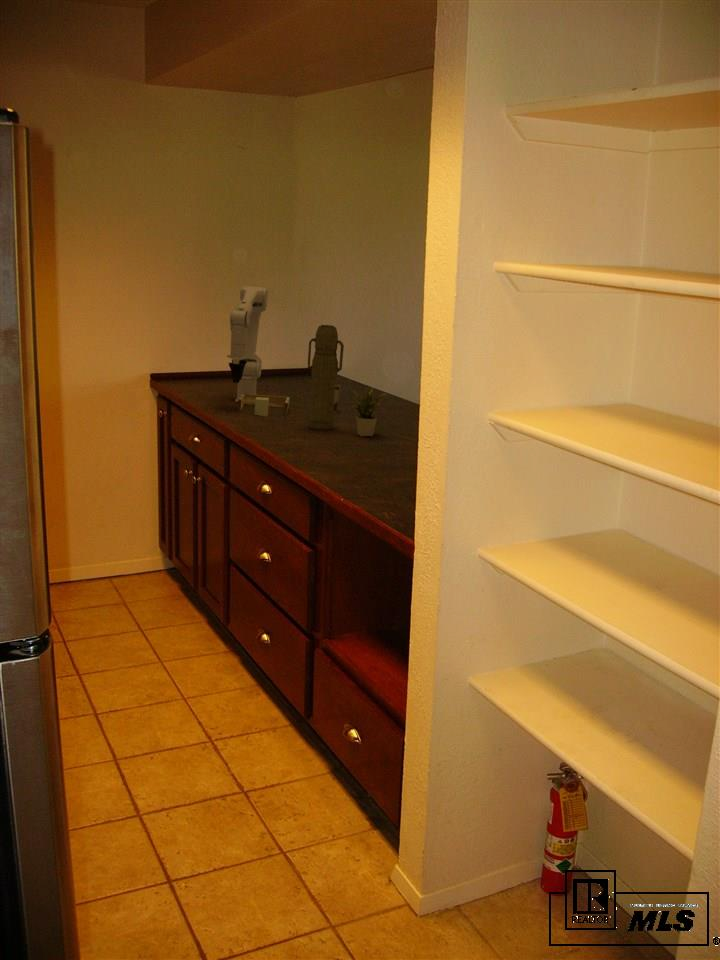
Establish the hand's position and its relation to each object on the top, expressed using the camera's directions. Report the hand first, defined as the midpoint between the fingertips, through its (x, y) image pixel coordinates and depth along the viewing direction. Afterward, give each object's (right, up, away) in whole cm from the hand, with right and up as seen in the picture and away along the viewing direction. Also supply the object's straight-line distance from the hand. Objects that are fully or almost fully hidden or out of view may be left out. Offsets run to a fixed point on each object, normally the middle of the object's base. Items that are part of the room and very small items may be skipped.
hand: (237, 381), depth 349 cm
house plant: (+48, -22, -28) cm, 59 cm away
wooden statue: (+32, -18, -19) cm, 41 cm away
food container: (+31, -11, +11) cm, 34 cm away
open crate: (+9, -10, +6) cm, 15 cm away
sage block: (+9, -13, -5) cm, 17 cm away
